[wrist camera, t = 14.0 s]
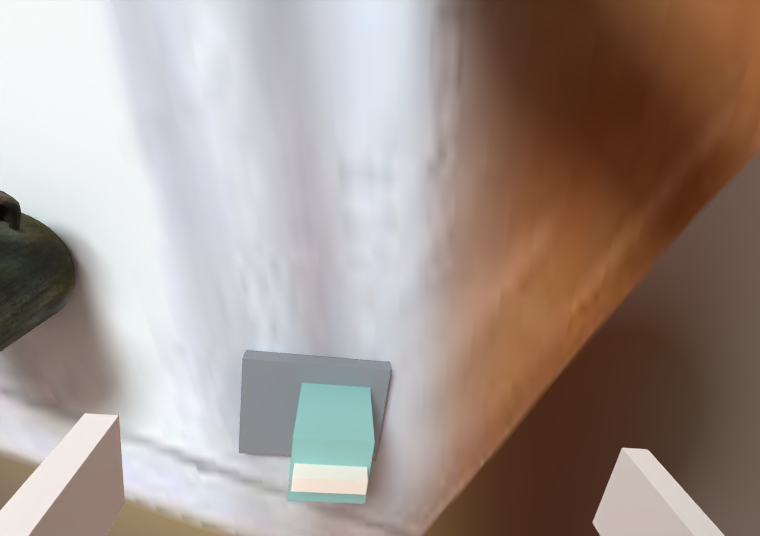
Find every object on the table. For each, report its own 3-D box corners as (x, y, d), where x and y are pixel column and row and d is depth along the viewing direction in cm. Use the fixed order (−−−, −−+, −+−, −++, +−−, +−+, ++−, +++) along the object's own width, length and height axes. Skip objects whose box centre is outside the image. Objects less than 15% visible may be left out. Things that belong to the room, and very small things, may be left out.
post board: (246, 350, 42) (228, 390, 36) (389, 362, 44) (396, 402, 37) (242, 442, 46) (225, 493, 39) (374, 450, 47) (379, 500, 41)
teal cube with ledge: (297, 438, 44) (285, 515, 36) (301, 382, 42) (290, 451, 33) (361, 442, 45) (365, 518, 36) (370, 387, 43) (375, 455, 34)
